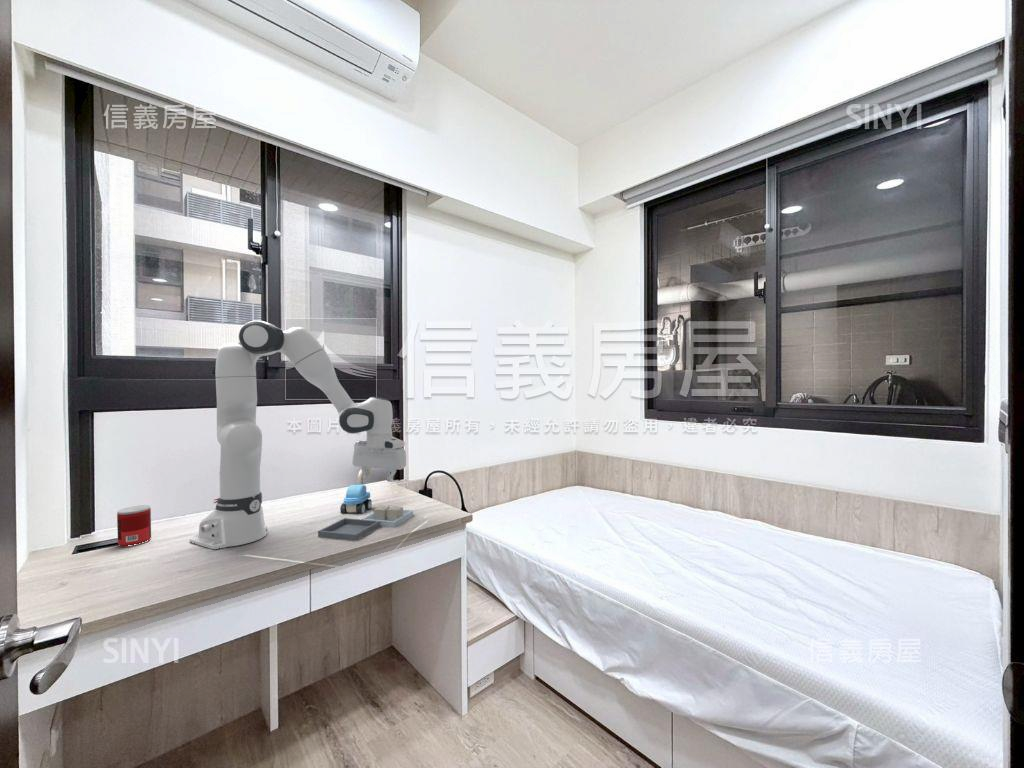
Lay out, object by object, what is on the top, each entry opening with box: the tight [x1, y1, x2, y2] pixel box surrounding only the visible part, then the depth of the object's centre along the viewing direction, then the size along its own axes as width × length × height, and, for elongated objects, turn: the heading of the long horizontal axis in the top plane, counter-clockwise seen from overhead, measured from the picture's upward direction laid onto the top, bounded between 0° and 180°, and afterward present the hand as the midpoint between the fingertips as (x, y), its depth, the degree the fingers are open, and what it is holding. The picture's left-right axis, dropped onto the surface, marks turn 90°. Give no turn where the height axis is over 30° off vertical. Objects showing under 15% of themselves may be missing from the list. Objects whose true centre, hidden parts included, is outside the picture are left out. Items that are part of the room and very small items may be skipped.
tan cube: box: [373, 505, 390, 521], centre depth 151 cm, size 4×4×4 cm
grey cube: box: [387, 506, 404, 521], centre depth 151 cm, size 4×4×4 cm
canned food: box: [116, 504, 152, 547], centre depth 133 cm, size 8×8×11 cm
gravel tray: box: [317, 517, 381, 542], centre depth 139 cm, size 14×13×2 cm
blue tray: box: [360, 509, 414, 528], centre depth 151 cm, size 13×13×2 cm
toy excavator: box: [339, 467, 373, 515], centre depth 165 cm, size 9×17×17 cm, turn 174°
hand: (378, 480), depth 150 cm, fingers open, 8 cm apart
